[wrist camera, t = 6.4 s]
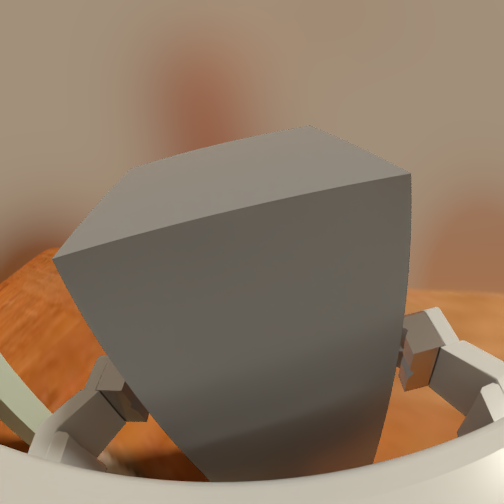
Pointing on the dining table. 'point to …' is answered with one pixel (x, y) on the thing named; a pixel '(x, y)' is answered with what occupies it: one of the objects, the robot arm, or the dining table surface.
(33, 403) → the frame
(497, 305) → the dining table surface
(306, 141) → the tall grey upright prism
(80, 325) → the dining table surface
